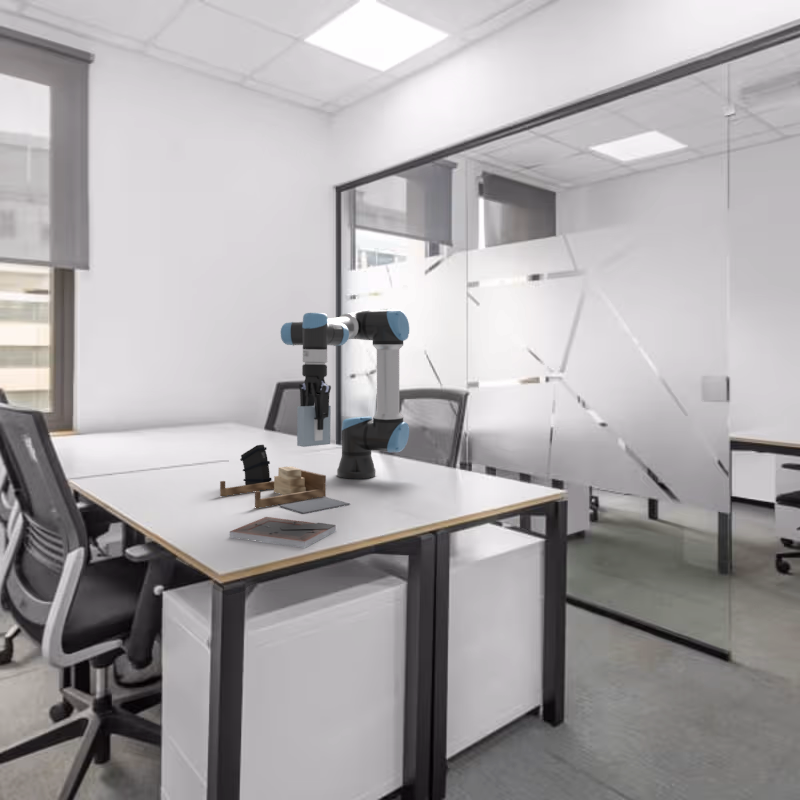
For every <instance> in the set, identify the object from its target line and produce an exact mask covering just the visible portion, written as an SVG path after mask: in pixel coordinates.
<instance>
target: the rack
mask: <svg viewBox="0 0 800 800" xmlns="http://www.w3.org/2000/svg"><path fill="white" fill-rule="evenodd" d="M301 477H303V478H305V487H306V491H304V492H298V493H292V494H286V495H281V494H279V495H275V496H269V497H263V498H261V497H262V496H261V492H262V491H259V490H264V491H267V490H266V489H270V490H274V480H272V481H270V482H264V483H257V484H250V485H245V484H244V485H238V486H232V487H231V486H230V487H226V481H225V480H220V481H219V491H220V492H219V496H225V497H228V496H227V495H232V496H234V495H233V494H238V495H241V494H240V493H245V494H248V493H247V492H251V493H254V508H255V507H256V508H255V509H260V508H259V507H263V508H267V507H266V506H269V507H273V506H272V505H274V506H278V504H280V505H285V504H290V503H296V501H297V502H301V500H302V501H307V499H308V500H312V498H313V499H318V498H317V497H319V498H323V496H324V497H327V496H326V489H327V488H326V486H327V485H326V484H327V476H326V475H325V474H323V473H322V474H321V473H317V472H311V471H309V470H308V471H307V470H303V469H301ZM253 491H256V492H253ZM284 503H285V504H284Z"/></svg>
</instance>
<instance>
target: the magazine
mask: <svg viewBox="0 0 800 800" xmlns="http://www.w3.org/2000/svg"><path fill="white" fill-rule="evenodd" d="M267 449H268V448H267V446H265V445H264V444H257V445H255V446H253V447H252V448H250V449H249V450H247V451H245V452H243V454H241V455H240V457H241V458H240V459H239V460H240V462H242V463H243V464H242V465H243V469H242V472H244V478H243V479H242V480H243V482H244V485H250V484H257V483H264V482H271V481H273V479H272V477H271V476H270V473H271V472H270V466H269V465H270V464H271V462H270V460H268V455H267V452H266V450H267Z"/></svg>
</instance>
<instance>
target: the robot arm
mask: <svg viewBox="0 0 800 800" xmlns="http://www.w3.org/2000/svg"><path fill="white" fill-rule="evenodd" d="M409 334H410V323H409V320H408V318H407V315H406V314H405V312H404V311H403V310H402V309H398V308H397V309H396V308H382V309H381V308H380V309H363V310H361V309H360V310H358V311H353V312H349V313H343V314H341V315H339V317H331V318H328V315H327V314H326V313H324V312H305V313H304V314H303V316H302V321H299V322H297V321H290V322H286V323H284V324H283V325H281V328H280V339H281V341H282V343H283V344H285V345H287V346H292V347H295V346H302V363H303V364H302V366H301V367H302V369H301V370H302V371H301V373H302V376H303V377H305V378H304V383H299V384H298V388H299V400H300V401H299V402H300V406H315V412H316V418H314V441H319V440H323V420H324V418H326V417H328V414H329V406H330V393H331V389H332V386H331V385H328V384H326V381H325V377H327V376H328V365H327V363H328V346H333V347H338V346H343V345H345V344H346V343H347V342H348V341H349V340H361V341H372V346H373V347H374V349H376V413H375V414H374V415H373V416H371V415H370V416H368V415H367V416H358V417H349V418H345V419H343V420H342V424H341V458H340V460H339V464H338V468H337V470H336V475H337V477H339V478H342V477H343V478H342V479H350V478H358V479H359V478H363V479H370V477H371V478H374V477H376V474H377V473H376V472H377V471H376V468H375V465H374V461H373V458H372V451H374V452H387V453H399V452H402V451H404V449H405V448H406V446H407V444H408V441H409V437H410V427H409V424H408V423H407V422H405V421H404V416H403V415H402V414H401V413H400V350H401V348H402V347H403V346H404V341H407V340H408V338H409ZM324 413H325V414H324ZM359 480H360V479H359Z"/></svg>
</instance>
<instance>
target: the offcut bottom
mask: <svg viewBox="0 0 800 800" xmlns="http://www.w3.org/2000/svg"><path fill="white" fill-rule="evenodd" d="M304 491H306V487H300V488H294V489H287V488H283V487H279V486H276V485H274V489H273V493H274V492H276V493H275V494H277V493H280V494H279V495H281V494H283V495H286V494H292V493H298V492H304Z"/></svg>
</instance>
